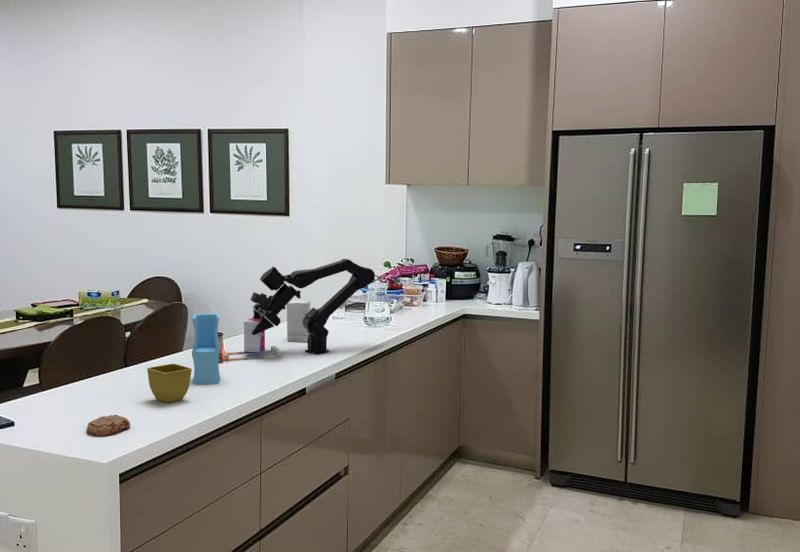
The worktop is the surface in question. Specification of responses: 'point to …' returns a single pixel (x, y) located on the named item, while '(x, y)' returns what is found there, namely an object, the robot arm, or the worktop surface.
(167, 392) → the flower pot
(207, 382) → the light blue tall piece
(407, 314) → the worktop surface
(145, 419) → the worktop surface
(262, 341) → the supplement box
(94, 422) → the cookie
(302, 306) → the skincare box
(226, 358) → the breaker track
